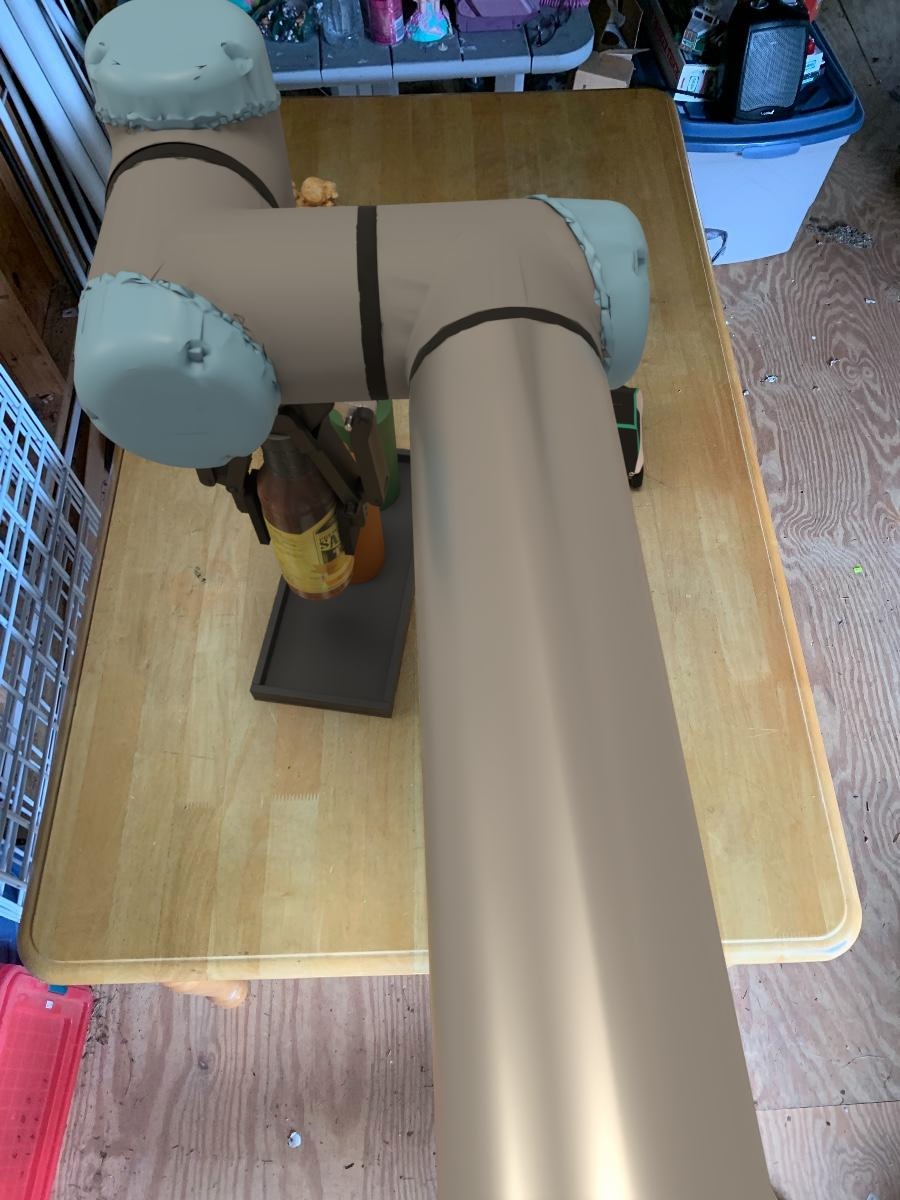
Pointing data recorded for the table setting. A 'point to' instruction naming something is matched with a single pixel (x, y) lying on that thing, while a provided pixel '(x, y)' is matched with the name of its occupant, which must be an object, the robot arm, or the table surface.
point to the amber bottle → (368, 547)
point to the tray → (345, 630)
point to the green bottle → (388, 441)
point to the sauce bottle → (302, 521)
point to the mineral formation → (316, 193)
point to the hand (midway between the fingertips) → (310, 535)
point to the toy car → (630, 430)
